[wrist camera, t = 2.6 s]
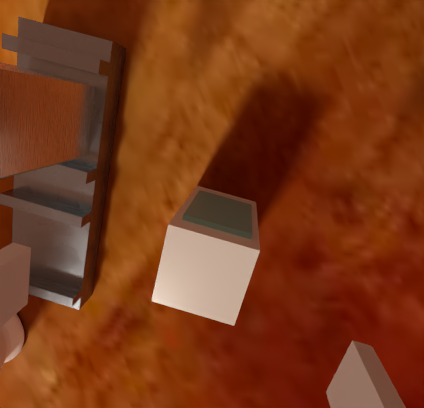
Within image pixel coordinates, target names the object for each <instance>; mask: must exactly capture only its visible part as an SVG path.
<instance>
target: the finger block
mask: <svg viewBox="0 0 424 408" xmlns="http://www.w3.org/2000/svg"><path fill="white" fill-rule="evenodd" d="M259 252H260V246H259V233H258V220H257V207H256V202H255V201H251V200H247V199H244V198H240V197H237V196H233V195H230V194H226V193H222V192H219V191H215V190H212V189H208V188H205V187H201V186H196V188H195V189H194V190H193V192H192V193H191V194H190V196H189V197H188V199H187V200H186V201H185V203H184V204H183V205H182V207H181V208H180V209H179V211H178V212H177V213H176V215H175V216H174V218H173V219H172V220H171V222H170V223H169V224H168V229H167V233H166V238H165V242H164V247H163V251H162V256H161V260H160V265H159V269H158V274H157V278H156V283H155V287H154V292H153V296H152V301H153V302H156V303H160V304H163V305H166V306H170V307H173V308H176V309H180V310H183V311H186V312H190V313H193V314H196V315H200V316H203V317H206V318H210V319H213V320H217V321H220V322H223V323H227V324H230V325H233V326H234V325H235V322H236V319H237V316H238V313H239V310H240V307H241V304H242V301H243V298H244V295H245V293H246V290H247V287H248V284H249V281H250V278H251V275H252V272H253V269H254V266H255V264H256V261H257V258H258V255H259Z"/></svg>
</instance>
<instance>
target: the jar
mask: <svg viewBox="0 0 424 408" xmlns="http://www.w3.org/2000/svg"><path fill="white" fill-rule="evenodd" d="M23 343H24V329H23V326H22V323H21V321H20V319H19V317H18V315H17V314H15V315H14V316H13V317H12V318H11V319H9V320H8V321H7V322H6V323H5V324H4V325H2V326H1V327H0V371H1V369H2V366H3V364H4V363H5V362H8V361H10V360H11V359H13V358H14V357H15V356H16V355H17V354H18V353H19V352H20V351H21V349H22V347H23Z"/></svg>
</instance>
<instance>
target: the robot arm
mask: <svg viewBox="0 0 424 408" xmlns="http://www.w3.org/2000/svg"><path fill="white" fill-rule="evenodd" d="M30 257H31V247H27V246H24V245H20V244H17V243H11V244H9V245H7V246H6V247H4V248H2V249H0V327H1V326H2V325H4V324H5V323H6V322H7V321H8V320H9V319H11V318H12V317H13V316H14V315H15V314H16V313H18V312H19V311H20V310H21V309H22V308H23V307H24V306H26V305H27V304H28V290H29V274H30ZM326 393H327V397H328V400H329V404H330V407H331V408H406V407H405V406H404V404H403V402H402V400H401V398H400V396H399V395H398V393H397V391H396V389H395V387H394V386H393V384H392V382H391V380H390V378H389V376H388V375H387V373H386V371H385V369H384V367H383V366H382V364H381V362H380V360H379V358H378V356H377V355H376V353H375V351H374V349H373V347H372V346H370V345H366V344H363V343H359V342H356V341H352V342H351V344H350V346H349V348H348V350H347V352H346V354H345V356H344V358H343V360H342V362H341V364H340V366H339V368H338V370H337V372H336V373H335V375H334V377H333V379H332V381H331V383H330V385H329V387H328V389H327V391H326Z"/></svg>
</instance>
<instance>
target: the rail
mask: <svg viewBox="0 0 424 408" xmlns="http://www.w3.org/2000/svg"><path fill="white" fill-rule="evenodd" d="M2 48H3V49H6V50H10V51H14V52H18V54H17V66H15V65H10V64H6V63H1V62H0V179H2V178H6V177H10V176H14V189H13V190H9V191H6V192H3V193H0V204H1V205H5V206H8V207H11V208H13V223H12V243H17V244H20V245H24V246H27V247H31V257H30V274H29V290H28V294H29V295H33V296H36V297H39V298H43V299H46V300H49V301H52V302H56V303H59V304H62V305H66V306H69V307H72V308H75V309H80V308H81V307H82V306H83V305H84V303H85V302H86V301H87V300H88V299H89V298H90V297H91V295H92V290H93V283H94V276H95V269H96V261H97V254H98V247H99V240H100V233H101V225H102V218H103V211H104V204H105V197H106V189H107V182H108V175H109V168H110V161H111V153H112V146H113V139H114V132H115V125H116V118H117V110H118V103H119V96H120V89H121V82H122V74H123V67H124V60H125V53H126V48H124V47H122V46H120V45H118V44H117V43H115V42H113V41H109V40H106V39H102V38H98V37H94V36H90V35H87V34H83V33H79V32H75V31H71V30H67V29H64V28H60V27H56V26H52V25H48V24H45V23H41V22H37V21H33V20H29V19H25V18H22V17H19V21H18V37H14V36H11V35H7V34H3V33H2Z"/></svg>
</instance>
